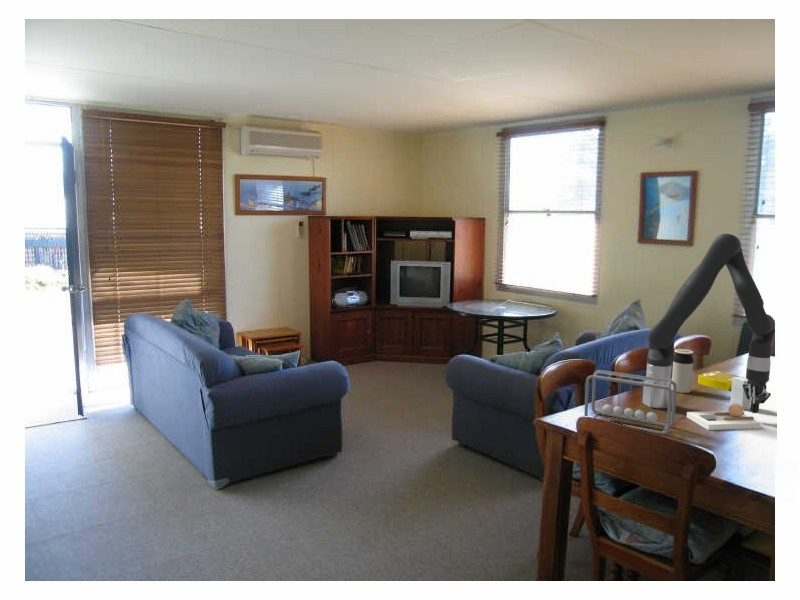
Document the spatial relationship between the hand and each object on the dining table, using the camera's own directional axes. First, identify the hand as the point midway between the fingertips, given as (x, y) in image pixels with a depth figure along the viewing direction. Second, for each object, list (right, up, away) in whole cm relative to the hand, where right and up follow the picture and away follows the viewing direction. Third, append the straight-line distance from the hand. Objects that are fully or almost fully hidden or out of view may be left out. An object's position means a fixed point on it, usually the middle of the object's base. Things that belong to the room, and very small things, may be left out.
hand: (754, 412), depth 229 cm
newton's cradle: (-48, -4, -2) cm, 48 cm away
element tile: (+13, +3, +49) cm, 51 cm away
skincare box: (+4, -1, +17) cm, 17 cm away
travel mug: (-9, +2, +39) cm, 40 cm away
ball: (-7, +1, -1) cm, 8 cm away
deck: (-12, -4, -1) cm, 13 cm away
